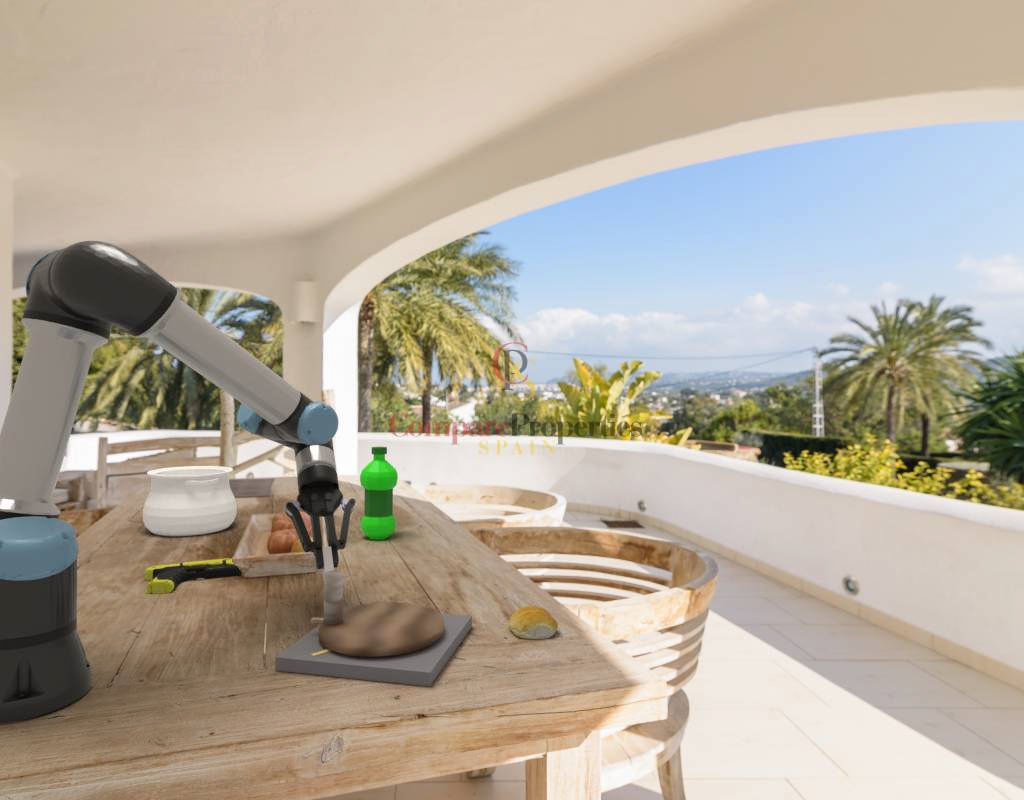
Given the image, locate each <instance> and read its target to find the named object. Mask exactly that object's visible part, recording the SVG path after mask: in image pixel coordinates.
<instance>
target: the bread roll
mask: <svg viewBox="0 0 1024 800" xmlns="http://www.w3.org/2000/svg"><path fill="white" fill-rule="evenodd" d="M558 625H559V624H558V621H557V620H556V619H555V618H554V616H552V615H551V614H550V612H549V611H547V610H546V609H545V608H543V607H540V606H534V605H532V606H531V605H530V606H529V605H528V606H523V607H521V608H519V609H517V610H515V612H514V613H513V614H512V615H511V616H510V619H509V621H508V629H509V630H510V631H511V633H512V634H513V635H514V636H516V637H518V638H520V639H524V640H545V639H549V638H551V637H553V636H554V635H555V634H556V632H557V631H558V628H559V627H558Z"/></svg>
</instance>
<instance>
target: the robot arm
mask: <svg viewBox="0 0 1024 800" xmlns="http://www.w3.org/2000/svg"><path fill="white" fill-rule="evenodd" d="M25 295H26V298H27V300H26V304H25V306H24V310H23V313H22V317H21V323H22V325H23V326H24V328H25V329H26V330H27V332H28V334H29V337H28V340H27V343H26V347H25V350H24V353H23V357H22V360H21V362H20V363H21V364H20V366H19V370H18V374H17V376H16V380H15V384H14V387H13V390H12V393H11V397H10V400H9V404H8V407H7V410H6V413H5V416H4V419H3V423H2V426H1V430H0V724H6V723H13V722H17V721H18V722H19V721H24V720H27V719H31V718H36V717H39V716H42V715H45V714H49V713H52V712H55V711H57V710H60V709H61V708H65V707H66V706H68V705H70V704H73V703H75V702H76V701H77V700H79V699H81V698H82V697H83V696H85V695H86V694H87V693H88V692H89V691H90V690H91V688H92V685H93V669H92V666H91V663H90V662H89V660H87V655H86V651H85V649H84V646H83V643H82V641H81V638H80V636H79V634H78V554H79V544H78V541H77V533H76V530H75V527H74V526H73V525H72V524H71V523H70V522H67V521H66V520H64V519H60V514H61V510H60V509H59V508H58V506H57V505H56V504H55V502H54V500H53V497H54V493H55V489H56V486H57V482H58V479H59V476H60V473H61V469H62V465H63V461H64V458H65V454H66V450H67V449H68V448H67V447H68V444H69V440H70V438H71V433H72V431H73V430H72V429H73V426H74V422H75V419H76V416H77V412H78V409H79V406H80V405H79V404H80V403H81V398H82V394H83V393H84V392H83V391H84V387H85V383H86V380H87V376H88V373H89V370H90V366H91V363H92V359H93V356H94V352H95V351H96V349H98V348H100V347H102V346H105V345H106V344H108V343H109V340H110V336H111V333H112V330H113V329H112V328H113V326H116V327H118V328H120V329H122V330H124V331H125V332H127V333H128V334H129V335H131V336H132V337H134V338H137V339H138V338H147V339H148V340H150V341H151V342H153V343H155V344H156V345H157V346H158V347H160V348H162V349H163V350H165V351H166V352H168V353H169V354H170V355H172V356H173V357H175V358H176V359H177V360H179V361H180V362H182V363H183V364H185V365H186V366H188V367H189V368H191V369H192V370H193V371H195V372H196V373H198V374H199V375H200V376H202V377H203V378H205V379H207V380H208V381H209V382H211V383H212V384H214V385H215V386H216V387H218V388H219V389H221V390H222V391H224V392H225V393H226V394H228V395H229V396H231V397H233V399H235V400H236V401H239V402H240V403H241V404H240V407H239V408H238V411H237V414H236V422H237V426H238V427H239V429H242V430H244V431H246V432H248V433H250V434H251V435H255V436H257V437H261V438H264V439H267V440H269V441H272V442H274V443H277V444H280V445H282V446H283V447H287V448H289V449H293V451H294V457H295V458H294V459H295V465H296V466H295V467H296V476H297V490H298V495H297V496H296V500H295V501H293V502H291V501H289V502H287V503H286V504H285V515H286V516H287V517H288V518H289V519H290V520H291V521H292V524H293V526H294V529H295V532H296V535H297V537H298V539H299V542H300V544H301V547H302V550H303V551H304V552H305V553H309V552H310V553H313V556H314V558H315V567H316V569H317V570H322V576H323V578H324V573H325V572H328V571H335V569H336V568H338V565H339V563H340V557H339V550H345V548H346V545H347V540H348V533H349V527H350V521H351V514H352V513H353V511H354V509H355V506H356V502H357V501H356V499H355V498H350V499H348V498H345V497H344V494H343V493H342V492H341V490H340V485H339V484H340V483H339V479H338V472H337V471H338V470H337V464H336V457H335V451H334V440H333V438H334V437H335V435H336V433H337V431H338V429H339V417H338V414H337V412H336V410H335V409H334V408H333V407H332V406H331V405H329V404H327V403H323V402H320V401H313V400H312V399H311V398H309V396H307V395H305V393H303V392H301V391H300V390H298V389H297V388H295V386H293V385H292V384H290V383H289V382H288V381H286V380H285V379H284V378H283V377H282V376H280V375H279V374H277V372H275V371H274V370H273V369H272V368H270V367H268V366H267V365H266V364H264V363H263V362H262V361H261V360H259V359H258V358H257V357H256V356H254V355H253V354H252V353H250V352H249V351H248V350H247V349H245V348H244V347H242V346H241V345H240V344H239V343H237V342H236V341H235V340H233V339H232V338H231V337H229V336H228V335H227V334H226V333H224V332H223V331H222V330H220V328H218V327H217V326H215V325H214V324H212V323H211V322H210V321H208V320H207V318H205V317H204V316H202V315H201V314H200V313H199V312H197V311H196V310H195V309H193V308H192V307H190V306H189V305H188V304H186V302H184V301H183V300H181V295H180V290H179V288H177V287H176V286H175V285H173V284H172V283H171V282H169V281H168V280H167V279H166V278H164V277H163V276H162V275H160V274H159V273H158V272H157V271H156V270H154V269H152V268H151V267H150V266H149V265H148V264H146V263H144V262H143V261H142V260H141V259H139V258H138V257H136V256H134V254H132V253H130V252H129V251H127V250H125V249H124V248H121V247H119V246H117V245H115V244H113V243H112V244H111V243H110V242H109V243H108V242H105V241H100V240H83V241H77V242H75V243H73V244H71V245H68V246H67V247H64V248H61V249H60V248H59V249H55V250H53V251H50V252H48V253H47V254H44V255H43V256H42V257H40V258H39V259H38V260H37V261H36V262H35V263H34V264H33V265H32V267H31V268H30V270H29V271H28V274H27V276H26V280H25ZM340 506H341V510H342V511H343V515H342V522H341V527H340V534H339V539H337V533H336V532H337V530H336V526H335V525H336V524H335V517H334V514H335V513H336V511H337V509H338V508H339V507H340ZM300 509H301V510H302V511H304V513H306V514H307V515H308V516H309V517H310V519H309V520H310V524H311V525H310V526H311V535H312V539H311V537H310V535H309V534H310V533H309V531H308V529H307V526H306V524H305V522H304V520H303V517H302V515H301V511H300ZM321 517H323V518H324V523H325V531H326V537H327V539H326V540H327V544H328V545H327V546H323V538H322V530H321V520H320V519H321Z"/></svg>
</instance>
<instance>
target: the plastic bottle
mask: <svg viewBox="0 0 1024 800" xmlns="http://www.w3.org/2000/svg"><path fill="white" fill-rule="evenodd" d="M387 453H388V447H387V446H372V447H371V455H373V459H372V460H371V461H370V462H369V463H367V464H366V465H365V467H363V469H362V470H361V473H360V474H359V483H360V486H361V487H362V488H363V489H364V512H363V513H364V515H363V517H362V518H361V522H360V529H361V532H363V534H364V536H366V537H367V538H368V539H370V540H375V541H376V540H377V541H378V540H386V539H388V537H390V536H391V535H393V533H394V532H395V529H396V528H397V527H396V526H397V520H396V517H395V514H394V510H393V509H394V507H393V504H394V488H395V487H396V486H397V484H398V471H397V468H395V467H394V466H393V465H392V464H391V463H390V462H389V461H387V460H386V455H388V454H387Z"/></svg>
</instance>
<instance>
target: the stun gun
mask: <svg viewBox="0 0 1024 800" xmlns="http://www.w3.org/2000/svg"><path fill="white" fill-rule="evenodd" d="M232 559H233V558H231V557H229V558H228V557H227V558H217V559H206V560H196V561H195V560H194V561H186V562H179V563H168V564H159V565H157V564H156V565H152V566H148V567H147V568H145V571H144V579H145V581H149V582H148V583H147V584H146V593H147V595H150V594H152V595H155V594H158V595H159V594H170V593H172V592H173V590H175V588H177V587H178V585H179V584H180V583H182V582H186V581H189V580H194V579H207V580H208V579H217V578H225V577H226V578H227V577H237V576H241V575H242V570H241V571H240V570H239V568H238V567H237V566H235V565H234V563H233V562H232Z"/></svg>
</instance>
